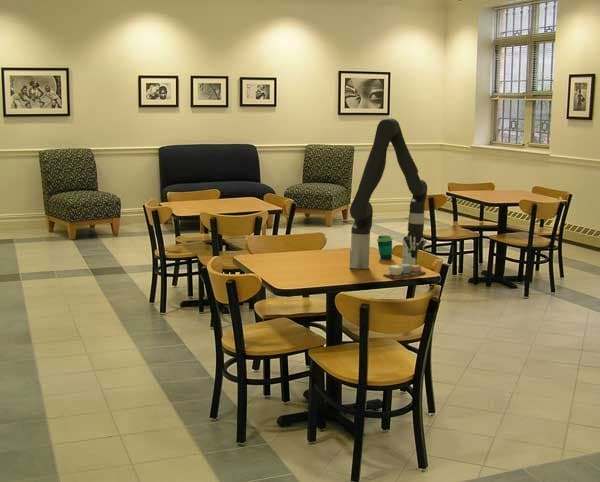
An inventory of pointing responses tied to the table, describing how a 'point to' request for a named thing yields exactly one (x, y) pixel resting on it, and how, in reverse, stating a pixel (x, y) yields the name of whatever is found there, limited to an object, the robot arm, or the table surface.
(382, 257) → the cup
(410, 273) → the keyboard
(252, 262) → the table surface
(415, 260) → the syrup box
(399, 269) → the key cream
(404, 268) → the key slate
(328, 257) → the table surface
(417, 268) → the key terracotta
